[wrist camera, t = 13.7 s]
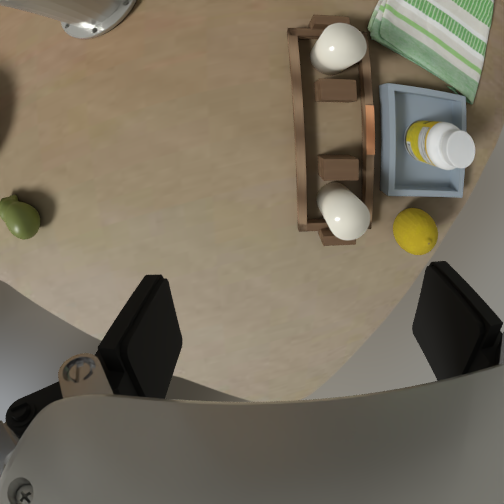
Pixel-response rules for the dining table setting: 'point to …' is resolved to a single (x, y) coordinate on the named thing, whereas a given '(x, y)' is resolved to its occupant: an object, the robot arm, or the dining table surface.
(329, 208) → the cartridge
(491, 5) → the dish towel
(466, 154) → the supplement bottle
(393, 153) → the tray
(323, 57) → the cylinder
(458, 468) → the robot arm
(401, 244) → the lemon
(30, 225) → the pear
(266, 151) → the dining table surface
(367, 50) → the clip rack
